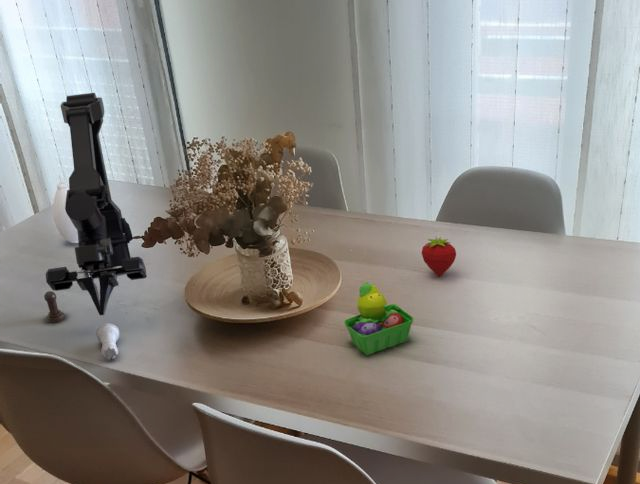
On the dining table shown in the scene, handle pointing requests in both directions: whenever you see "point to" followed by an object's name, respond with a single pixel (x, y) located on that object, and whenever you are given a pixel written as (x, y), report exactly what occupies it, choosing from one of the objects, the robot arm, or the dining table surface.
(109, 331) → the rook chess piece
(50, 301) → the walnut pawn
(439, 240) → the strawberry
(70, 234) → the sauce bottle
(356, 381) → the dining table surface
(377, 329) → the fruit basket
